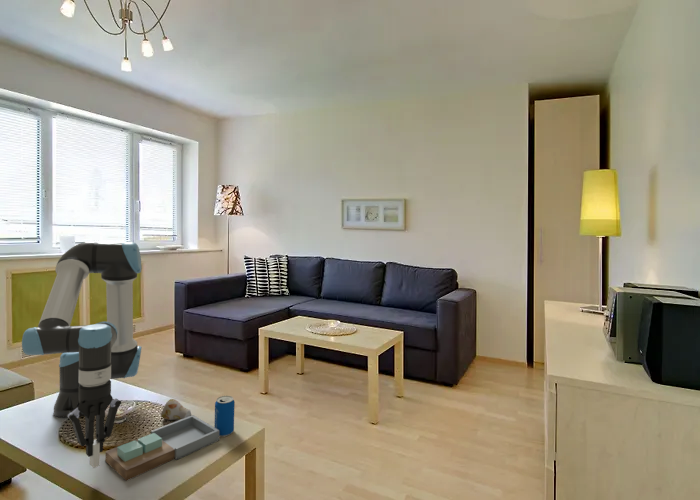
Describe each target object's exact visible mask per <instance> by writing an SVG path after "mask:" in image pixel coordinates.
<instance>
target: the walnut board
mask: <svg viewBox="0 0 700 500" xmlns="http://www.w3.org/2000/svg"><path fill="white" fill-rule="evenodd" d="M138 439H139V438H136V439H135V440H136V441H137V442H138ZM117 447H118V446H116V447H114V448H110V449H109V450H105V451H104V452H105V453H104V454H105V458H104V459H105V460H104V461H105V463H107V464H108V465H109V466H110V467H111V468H112V469H113V470H114V471H115V472H116V473H117V474H118V475H120V476H121V478H123V479H124V480H125V481H126V482H128V481H129V480H131V479H133V478H135V477H138V476H140V475H142V474H145V473H147V472H150V471H151V470H153V469H155V468H158V467H160V466H162V465H164V464H167V463H169V462H171V461H173V460H175V449H173V448H172V447H171V446H169V445H168V444H166V443H165V442H164V441H162V446H161V447H159V448H157V449H154V450H152V451H149V452H147V453H145V452H143V454H142V455H140V456H137V457H135V458H133V459H130V460H128V461H124V460H122V459H121V458H120V457H119V456H118V455H117Z"/></svg>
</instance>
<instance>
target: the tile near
mask: <svg viewBox="0 0 700 500" xmlns="http://www.w3.org/2000/svg"><path fill="white" fill-rule="evenodd" d="M136 440H137V439H134V440H132V441H129V442H127V443H124V444H121V445H118V446H116V447H117V455H118V456H119V457H120V458H121V459H122V460H124V461H128V460H130V459H133V458H135V457H137V456H140V455H142V454H143V446H142V445H141V444H139V443H138V442H137V441H136Z"/></svg>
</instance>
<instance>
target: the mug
mask: <svg viewBox="0 0 700 500" xmlns="http://www.w3.org/2000/svg"><path fill="white" fill-rule="evenodd" d="M160 416H161V418H162V419H163V420H165V421H174V420H176V421H177V420H178V421H179V420H181V419H184V418H186V417H189V416H192V412H191V409H188V408H186V407H184V406H183V405H182V404H181V402H179V401H178V400H176V399H174V398H171V399H168V400H167V402H166V403H165V404H164V405H163V409H162V411H161V413H160Z"/></svg>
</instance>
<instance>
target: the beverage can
mask: <svg viewBox="0 0 700 500" xmlns="http://www.w3.org/2000/svg"><path fill="white" fill-rule="evenodd" d="M235 405H236V404H235V399H234V397H233V396H231V395H222V396H218V397H217V398H216V401H215V403H214V426H213V427H215V428H216V429H218V430H219V437H228V436H230V435H231V434H232V433H233V432H234V431H235Z"/></svg>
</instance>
